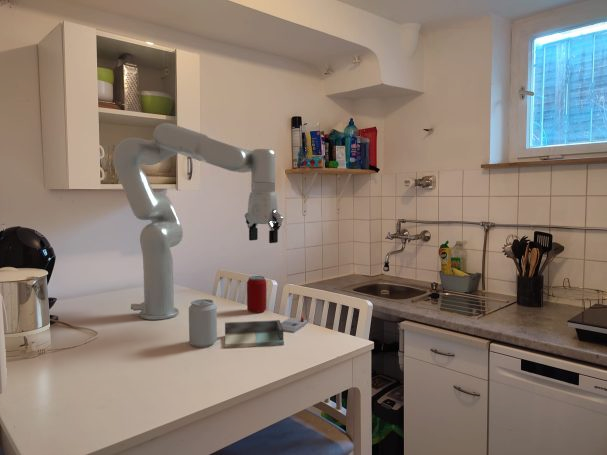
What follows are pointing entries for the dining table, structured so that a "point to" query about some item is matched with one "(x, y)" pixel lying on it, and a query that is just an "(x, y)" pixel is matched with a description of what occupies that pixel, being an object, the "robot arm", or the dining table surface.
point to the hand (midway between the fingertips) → (263, 241)
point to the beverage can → (256, 294)
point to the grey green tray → (253, 333)
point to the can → (202, 323)
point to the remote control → (293, 324)
